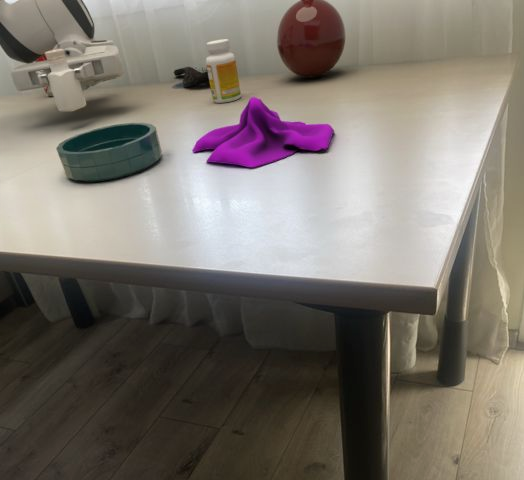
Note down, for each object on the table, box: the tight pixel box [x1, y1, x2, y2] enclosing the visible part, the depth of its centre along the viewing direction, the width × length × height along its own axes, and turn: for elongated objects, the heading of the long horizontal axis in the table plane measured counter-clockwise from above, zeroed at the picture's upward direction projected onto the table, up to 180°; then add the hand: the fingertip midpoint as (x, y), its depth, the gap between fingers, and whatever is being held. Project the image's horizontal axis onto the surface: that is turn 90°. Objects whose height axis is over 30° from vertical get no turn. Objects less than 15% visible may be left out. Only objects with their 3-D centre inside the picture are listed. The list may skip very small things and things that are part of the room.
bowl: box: [55, 122, 163, 183], centre depth 74 cm, size 14×14×4 cm
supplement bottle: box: [205, 38, 242, 104], centre depth 97 cm, size 5×5×10 cm
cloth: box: [192, 96, 335, 168], centre depth 73 cm, size 22×19×6 cm
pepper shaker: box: [45, 49, 87, 112], centre depth 94 cm, size 4×4×10 cm
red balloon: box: [276, 0, 346, 79], centre depth 100 cm, size 13×13×20 cm
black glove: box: [173, 66, 210, 88], centre depth 120 cm, size 8×4×25 cm
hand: (61, 77), depth 93 cm, fingers closed on pepper shaker, 5 cm apart
